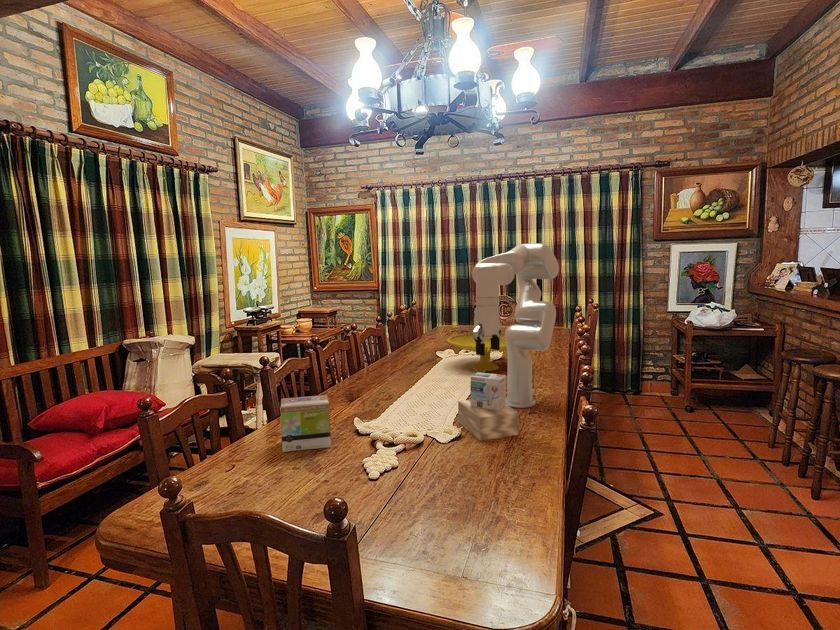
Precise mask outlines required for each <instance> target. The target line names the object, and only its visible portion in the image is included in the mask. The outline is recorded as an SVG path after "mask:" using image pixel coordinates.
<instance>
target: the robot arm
mask: <svg viewBox="0 0 840 630" xmlns="http://www.w3.org/2000/svg"><path fill="white" fill-rule="evenodd" d="M559 269H560V266H559V262H558V259H557V258H556V256H555V254H554V253H553V251H552V250H551V248H550V247H549V246H548V245H547V244H545V243H541V242H540V243H521V244H518V245H516V246H514V247H513V248H511V249H510V250H508V251H507V252H503V253H500V254H496V255H494V256H490V257H489V256H488V257H486V258H483V259H482V260H479V261H478V262H477V263H476V264H475V266H474V267H473V269H472V273H471V275H472V279H473V281H474V283H475V295H476V297H475V302H476V303H475V306H476V307H475V310H474V317H473V330H472V333H473V334H472V337H473V339H474V340H475V343H476V351H475V355H476V356H480V355H482V356H484V355H485V343H484V341H486V337H488V338H489V336H491V338H490V341H491V349H493V350H499V349H500V341H501V340H500V338H501V336H500V334H502V326H503V324H502V323H501V321H500V310H499V309H500V308H499V307H500V286H506V285H510V284H511V283H512V281H513V280H514V279H515V274H516V280H517V283H518V286H519V293H518V298H517V303H516V305H515V311H514V319H515V321H516V322H517V323H518V324H516V323H515V324H511V325H509V326H508V327H506V329H505V332H504V334H505V335H504V337H505V338H504V340H505V341H506V346H507V350H506V353H507V354H506V355H507V359H506V360H507V365H506V367H507V370H506V372H507V375H506V383H507V384H506V386H507V387H506V388H507V389H506V390H507V391H506V395H507V396H506V405H508V406H509V407H511V408H517V409H524V408H526V409H527V408H532V407H534V406H535V405H536V399H534V398H533V394H534V393H535V389H534V388H532V387H533V359H532V356H531V355H530V353H529V351H535V352H536V351H537V352H542V351H543V352H544V351H547V350H548V349H549V348H550V345H551V342H552V337H553V332H554V328H555V323H556V318H557V309H556V306H555V304H554V303H553V302H550V301H545V300H543V301H542V300H541V298H542V297H541V296H542V291H541V289H540V287H539V285H538V284H537V283H536V282H535V281H534V279H535V280H552V279H555V278H556V277H557V276H558V274H559V272H560V271H559ZM480 337H482V339H481V338H480Z"/></svg>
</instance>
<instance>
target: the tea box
mask: <svg viewBox="0 0 840 630" xmlns="http://www.w3.org/2000/svg"><path fill="white" fill-rule="evenodd" d="M330 405H331V404H330V402H329V397H328V394H324V395H323V394H322V395H312V396H311V395H310V396H299V397H287V398H285V397H284V398H281V399H280V426H281V427H280V430H281V434H280V435H281V448H282V449H281V450H282V453H287V452H295V451H303V450H304V451H305V450H314V449H327V448H331V446H332V445H331V444H332V441H331V439H332V438H331V414H330V413H331V411H330V410H331V409H330V407H331V406H330Z"/></svg>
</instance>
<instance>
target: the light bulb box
mask: <svg viewBox="0 0 840 630" xmlns="http://www.w3.org/2000/svg"><path fill="white" fill-rule="evenodd" d="M506 383H507V375H505V374H496V373H487V372H486V373H485V372H479V371H477V372H476V373H475V374H473V375H471V376H470V395H469V396H470V398H469V400H470V406H472V407H478V408H484V409H490V410H496V411H499V410H501V409H502V408H503V407H504V406H505V405H506V397H507V396H506V395H507V391H506V390H507V389H506V388H507V387H506V386H507V384H506Z"/></svg>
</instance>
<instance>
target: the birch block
mask: <svg viewBox="0 0 840 630" xmlns="http://www.w3.org/2000/svg"><path fill="white" fill-rule="evenodd" d="M457 408H458V410H457V415H458V417H457V419H458V421H457V422H458V423H459V424H460V425H461V426H462V427H464V428H465V429H466V431H468V432H469V433H470V434H472V435H473V436H474V437H475V438H476V439H477V440H479V441H480V442H481V441H485V440H493V439H500V438H505V437H511V436H512V435H513V436H518V435H519V415H520V414H519V413H520V412H518V411H517V410H516V409H514V408H513V407H511V406H508V405H505V406H504V407H503V408H502V409H501V410H499V411H496V410H490V409H484V408H478V407H472V406H470V399H466V400H458V402H457ZM513 436H512V437H513Z"/></svg>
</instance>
